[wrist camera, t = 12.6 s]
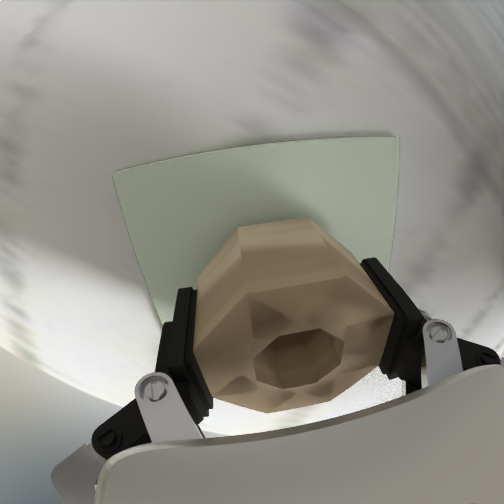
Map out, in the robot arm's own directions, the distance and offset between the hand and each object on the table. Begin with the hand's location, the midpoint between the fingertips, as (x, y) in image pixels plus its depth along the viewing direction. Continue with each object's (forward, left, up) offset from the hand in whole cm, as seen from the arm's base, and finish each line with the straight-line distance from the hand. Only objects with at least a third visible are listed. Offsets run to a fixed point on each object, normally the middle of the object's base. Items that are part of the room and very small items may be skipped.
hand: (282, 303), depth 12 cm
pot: (0, 0, -1) cm, 1 cm away
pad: (0, 0, -2) cm, 2 cm away
